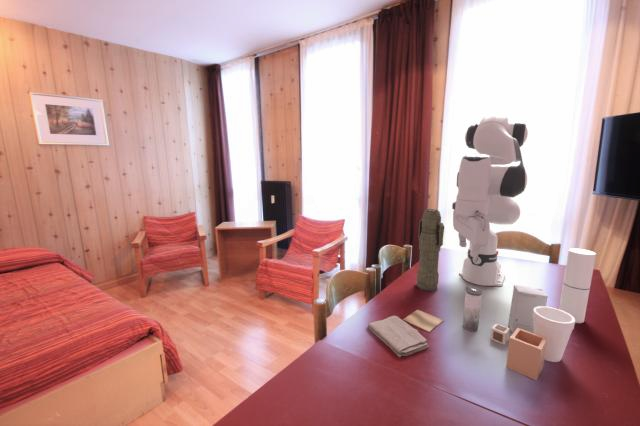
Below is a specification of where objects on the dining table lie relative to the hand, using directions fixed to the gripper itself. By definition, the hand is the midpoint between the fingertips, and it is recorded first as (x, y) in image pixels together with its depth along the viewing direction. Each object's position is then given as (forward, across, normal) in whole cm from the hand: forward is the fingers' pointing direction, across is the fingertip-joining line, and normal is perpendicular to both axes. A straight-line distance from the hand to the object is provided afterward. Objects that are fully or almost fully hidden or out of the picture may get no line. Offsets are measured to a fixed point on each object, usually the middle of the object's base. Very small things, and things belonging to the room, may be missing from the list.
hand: (467, 251), depth 93 cm
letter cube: (+28, -3, -10) cm, 30 cm away
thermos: (+29, +34, +3) cm, 45 cm away
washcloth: (+28, -6, +22) cm, 36 cm away
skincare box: (+29, +2, -21) cm, 36 cm away
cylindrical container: (+29, +13, -42) cm, 53 cm away
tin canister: (+28, +3, -4) cm, 29 cm away
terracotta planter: (+28, -16, -11) cm, 34 cm away
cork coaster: (+28, +5, +11) cm, 31 cm away
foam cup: (+28, -10, -21) cm, 37 cm away
